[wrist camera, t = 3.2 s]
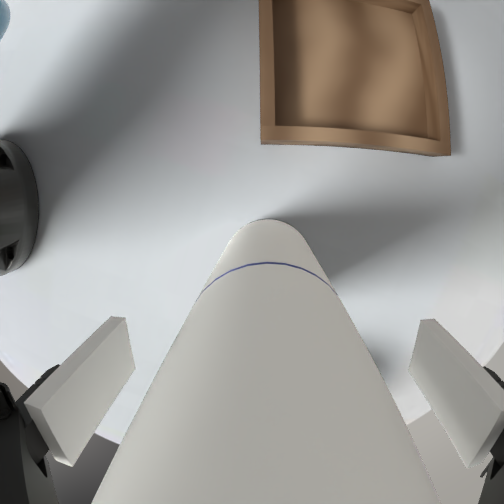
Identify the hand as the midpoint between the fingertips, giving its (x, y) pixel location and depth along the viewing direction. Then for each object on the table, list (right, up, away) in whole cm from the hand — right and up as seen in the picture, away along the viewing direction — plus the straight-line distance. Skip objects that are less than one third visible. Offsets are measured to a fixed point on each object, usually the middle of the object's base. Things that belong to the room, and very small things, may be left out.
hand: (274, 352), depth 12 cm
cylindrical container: (0, +3, +13) cm, 13 cm away
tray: (+7, +20, +8) cm, 23 cm away
